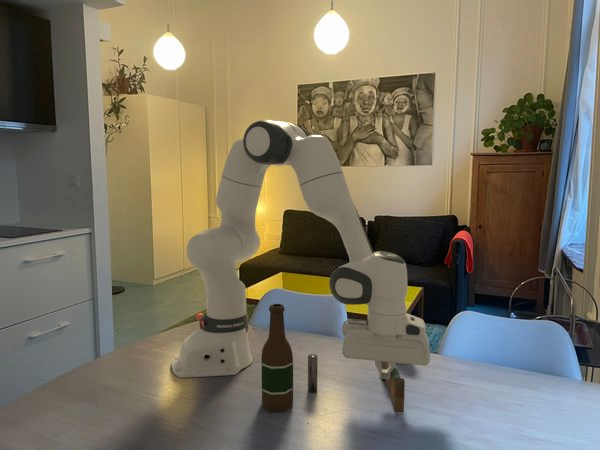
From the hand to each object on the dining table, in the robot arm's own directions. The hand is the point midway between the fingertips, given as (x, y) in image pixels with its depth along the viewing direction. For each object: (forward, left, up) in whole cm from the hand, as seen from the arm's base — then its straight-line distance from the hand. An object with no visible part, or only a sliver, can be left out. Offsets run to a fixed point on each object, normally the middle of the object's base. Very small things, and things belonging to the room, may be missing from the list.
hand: (384, 378), depth 109 cm
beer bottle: (-25, +6, -6) cm, 26 cm away
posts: (-4, +10, -6) cm, 12 cm away
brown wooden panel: (+2, 0, -4) cm, 5 cm away
